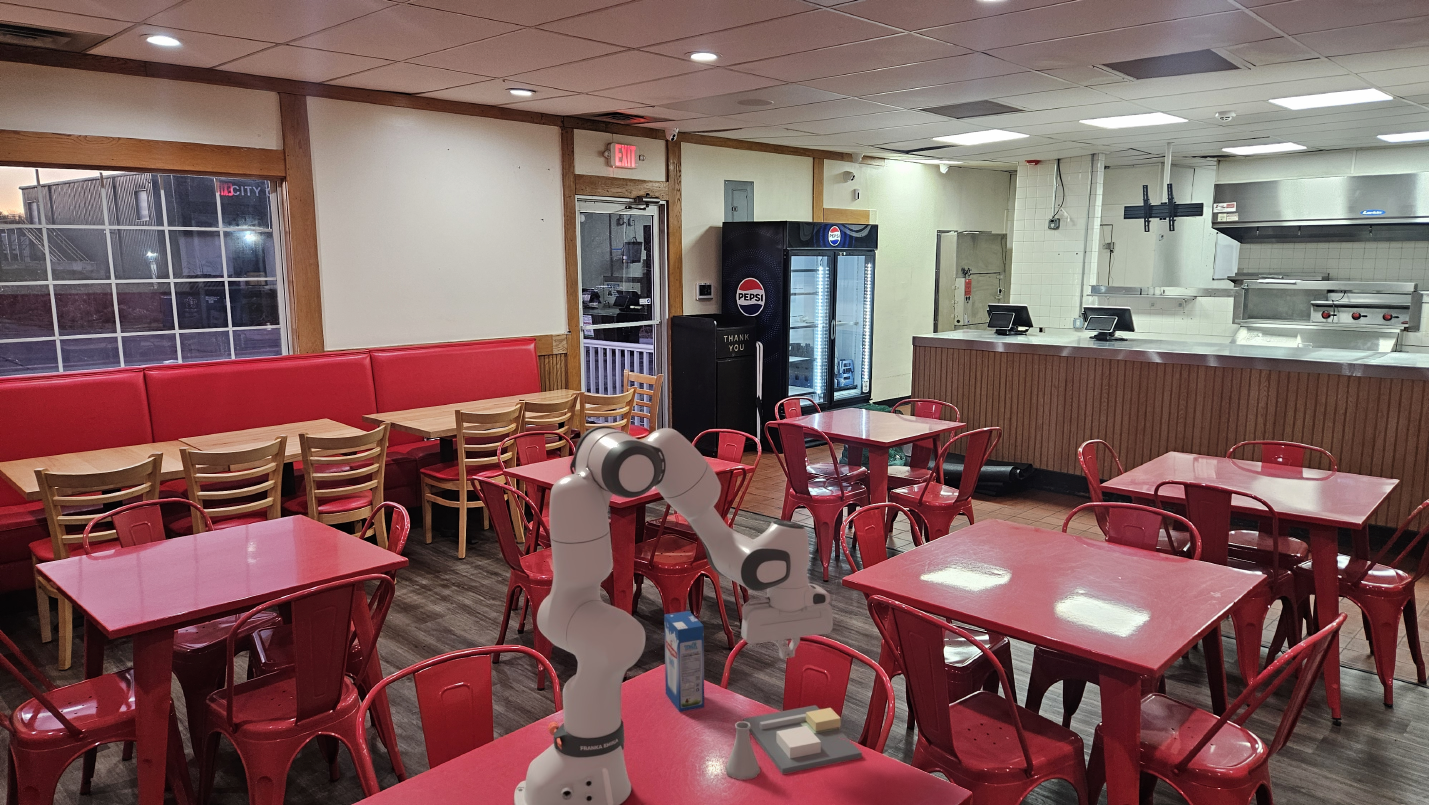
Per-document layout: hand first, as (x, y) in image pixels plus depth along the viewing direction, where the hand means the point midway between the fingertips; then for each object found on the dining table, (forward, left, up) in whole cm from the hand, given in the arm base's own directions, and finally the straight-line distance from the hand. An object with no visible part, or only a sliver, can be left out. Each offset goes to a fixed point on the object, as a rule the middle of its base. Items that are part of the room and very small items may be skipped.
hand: (786, 656), depth 196 cm
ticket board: (+2, -2, -18) cm, 19 cm away
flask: (-14, -9, -19) cm, 25 cm away
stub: (+9, 0, -17) cm, 19 cm away
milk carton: (-16, +24, -19) cm, 34 cm away
